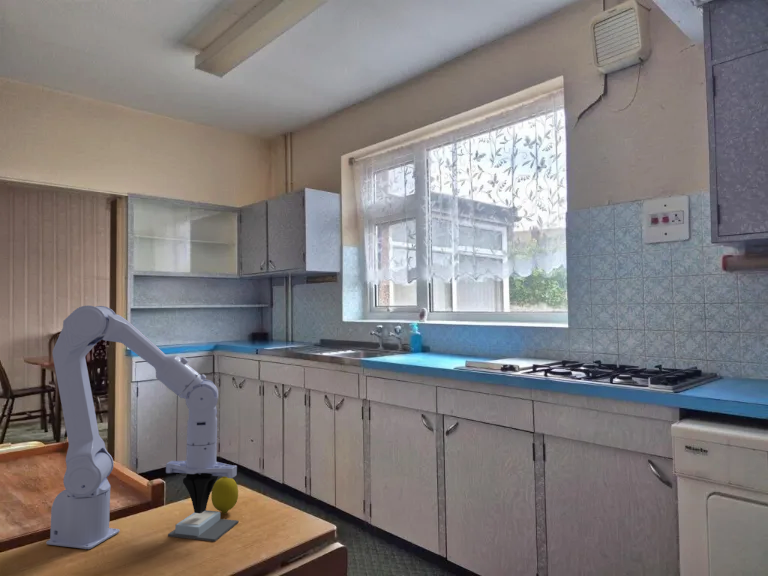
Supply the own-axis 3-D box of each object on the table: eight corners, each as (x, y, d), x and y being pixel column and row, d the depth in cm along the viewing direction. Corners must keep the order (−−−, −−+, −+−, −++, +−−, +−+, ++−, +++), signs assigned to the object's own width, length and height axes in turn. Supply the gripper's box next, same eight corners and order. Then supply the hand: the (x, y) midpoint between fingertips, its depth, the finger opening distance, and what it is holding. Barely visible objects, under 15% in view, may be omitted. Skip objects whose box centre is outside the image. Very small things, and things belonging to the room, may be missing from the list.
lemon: (233, 518, 108) (234, 479, 109) (207, 518, 108) (208, 479, 109) (241, 508, 114) (241, 471, 114) (215, 508, 114) (216, 471, 114)
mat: (167, 536, 99) (167, 534, 99) (194, 518, 108) (194, 516, 108) (215, 541, 97) (215, 539, 97) (238, 522, 106) (238, 520, 106)
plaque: (198, 535, 99) (175, 533, 100) (220, 519, 107) (198, 517, 108) (198, 526, 99) (175, 524, 100) (220, 511, 107) (198, 509, 108)
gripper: (157, 445, 101) (155, 515, 101) (224, 449, 98) (223, 522, 98) (178, 436, 108) (176, 502, 108) (242, 440, 105) (240, 508, 105)
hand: (200, 511), depth 103 cm, fingers closed
